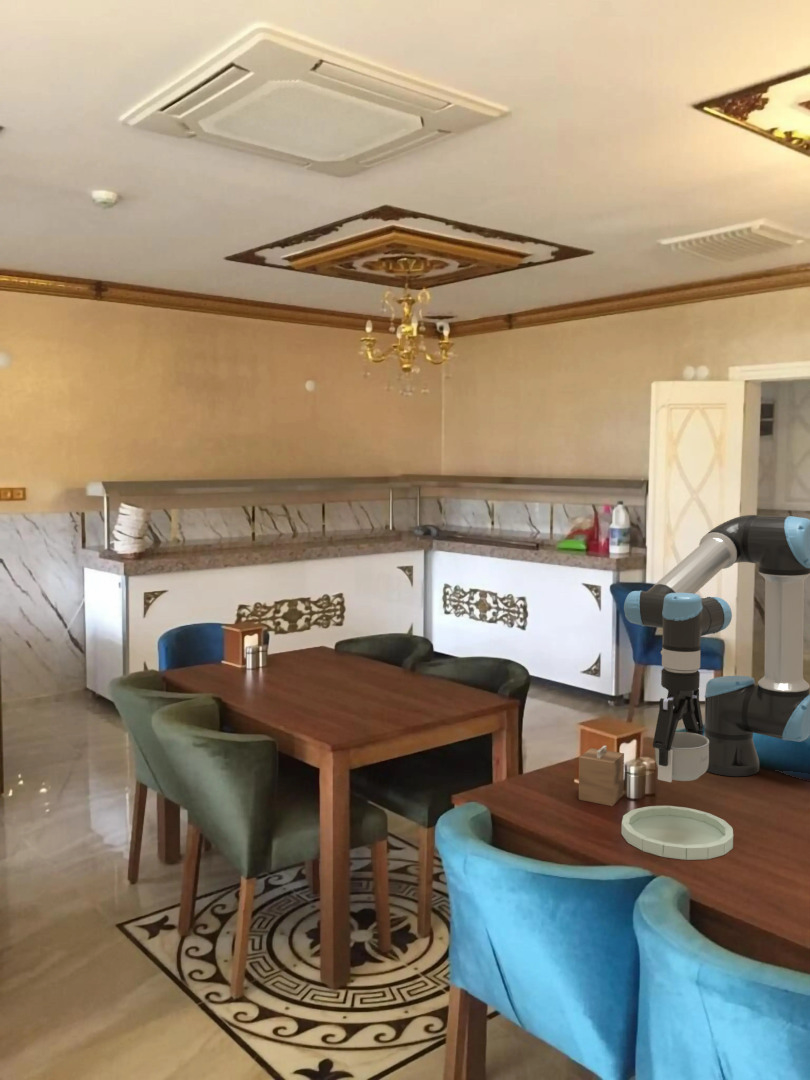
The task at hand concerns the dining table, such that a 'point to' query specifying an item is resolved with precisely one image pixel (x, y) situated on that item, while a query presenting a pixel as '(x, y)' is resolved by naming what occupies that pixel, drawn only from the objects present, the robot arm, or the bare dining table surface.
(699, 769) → the teacup
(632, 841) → the tray
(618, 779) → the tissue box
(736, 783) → the dining table surface
